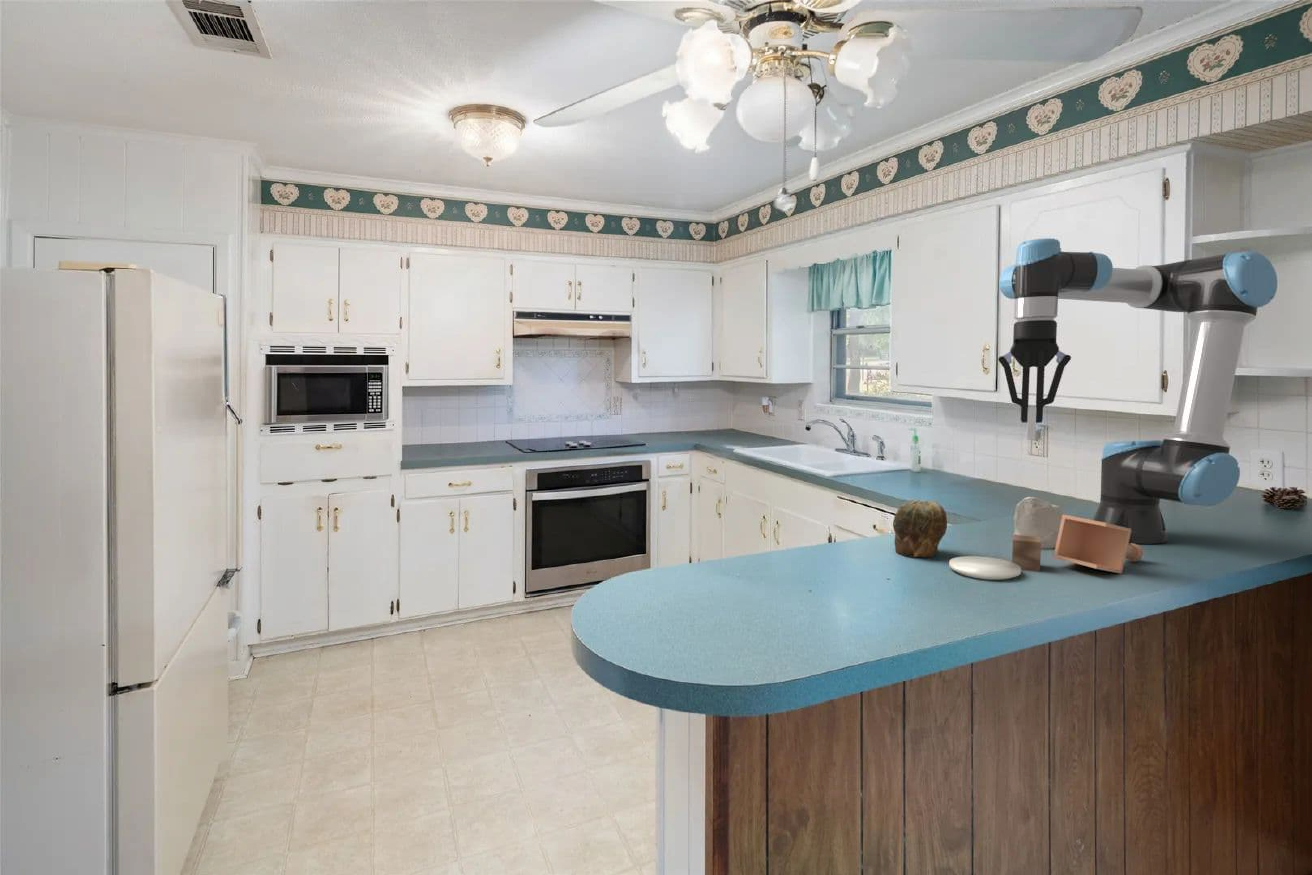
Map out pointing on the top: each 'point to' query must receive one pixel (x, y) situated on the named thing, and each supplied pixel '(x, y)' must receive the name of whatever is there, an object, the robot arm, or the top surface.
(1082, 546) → the cover
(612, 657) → the top surface
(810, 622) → the top surface
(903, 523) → the brown rounded lump
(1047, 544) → the stone
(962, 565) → the dish
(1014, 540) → the block
